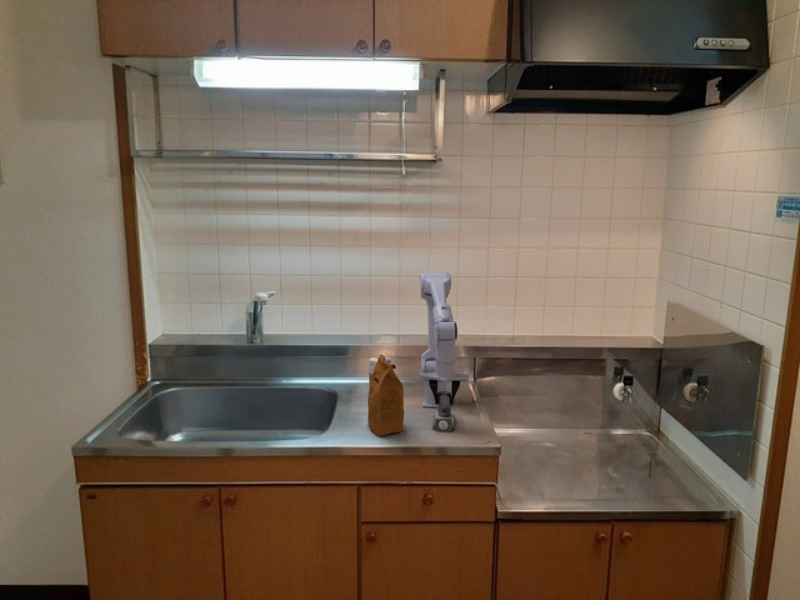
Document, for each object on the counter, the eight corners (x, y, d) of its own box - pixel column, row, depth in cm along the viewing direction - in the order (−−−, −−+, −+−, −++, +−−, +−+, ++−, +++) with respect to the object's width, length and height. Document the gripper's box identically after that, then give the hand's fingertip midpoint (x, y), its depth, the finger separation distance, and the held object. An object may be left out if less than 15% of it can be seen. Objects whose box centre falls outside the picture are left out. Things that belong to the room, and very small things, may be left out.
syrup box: (391, 397, 203) (391, 357, 200) (382, 403, 198) (382, 361, 195) (378, 394, 206) (378, 354, 203) (368, 399, 201) (368, 359, 198)
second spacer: (436, 412, 177) (436, 395, 176) (438, 407, 181) (439, 390, 179) (449, 413, 176) (449, 396, 175) (451, 408, 180) (452, 391, 179)
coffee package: (394, 418, 186) (394, 351, 181) (407, 434, 174) (407, 363, 170) (364, 421, 183) (363, 354, 179) (374, 438, 171) (374, 366, 167)
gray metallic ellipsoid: (438, 412, 186) (438, 395, 185) (451, 412, 186) (451, 396, 185) (437, 417, 182) (438, 400, 181) (450, 417, 182) (451, 401, 181)
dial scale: (434, 417, 187) (434, 406, 186) (455, 418, 186) (455, 407, 185) (432, 431, 176) (432, 420, 176) (454, 432, 176) (454, 421, 175)
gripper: (419, 364, 172) (419, 407, 175) (469, 366, 171) (468, 409, 173) (421, 356, 179) (421, 398, 182) (469, 358, 177) (468, 401, 180)
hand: (444, 403), depth 178 cm, fingers closed on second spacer, 4 cm apart
